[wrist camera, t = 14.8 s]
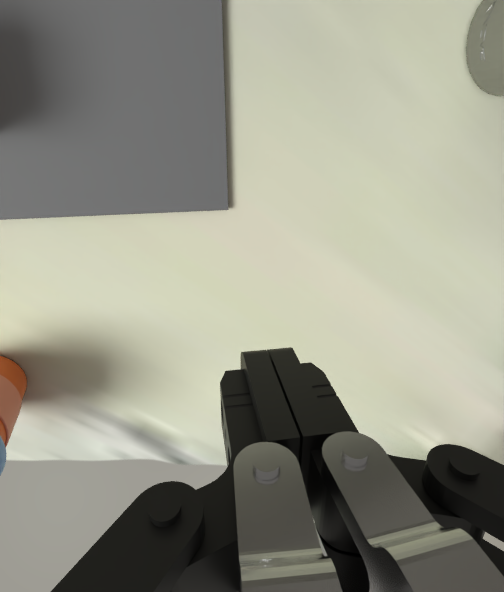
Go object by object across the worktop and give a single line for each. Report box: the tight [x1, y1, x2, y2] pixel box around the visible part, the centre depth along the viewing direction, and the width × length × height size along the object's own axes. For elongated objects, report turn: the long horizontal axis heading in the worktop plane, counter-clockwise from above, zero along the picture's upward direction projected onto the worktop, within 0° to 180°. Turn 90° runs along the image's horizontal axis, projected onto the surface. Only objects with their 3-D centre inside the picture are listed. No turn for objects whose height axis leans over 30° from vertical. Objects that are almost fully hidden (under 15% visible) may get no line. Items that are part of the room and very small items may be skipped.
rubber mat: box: [0, 0, 228, 220], centre depth 30 cm, size 27×20×1 cm
